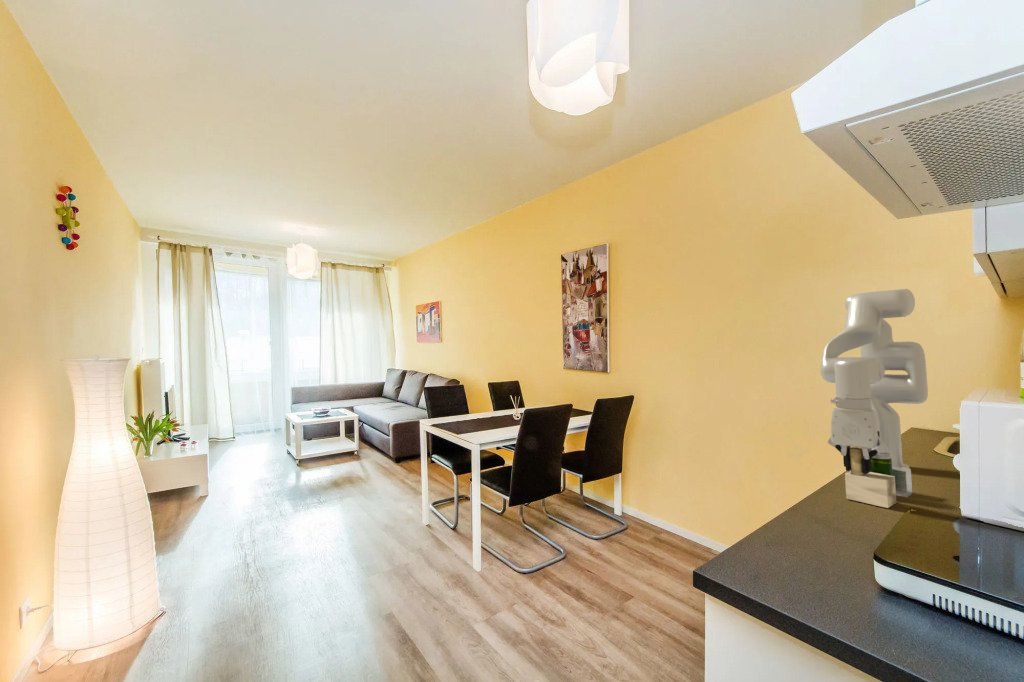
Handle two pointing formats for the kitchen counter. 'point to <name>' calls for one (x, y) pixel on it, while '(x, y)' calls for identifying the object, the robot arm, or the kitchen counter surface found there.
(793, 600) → the kitchen counter surface
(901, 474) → the grey box
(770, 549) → the kitchen counter surface
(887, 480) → the wooden block with peg
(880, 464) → the beer can
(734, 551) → the kitchen counter surface
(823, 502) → the kitchen counter surface
